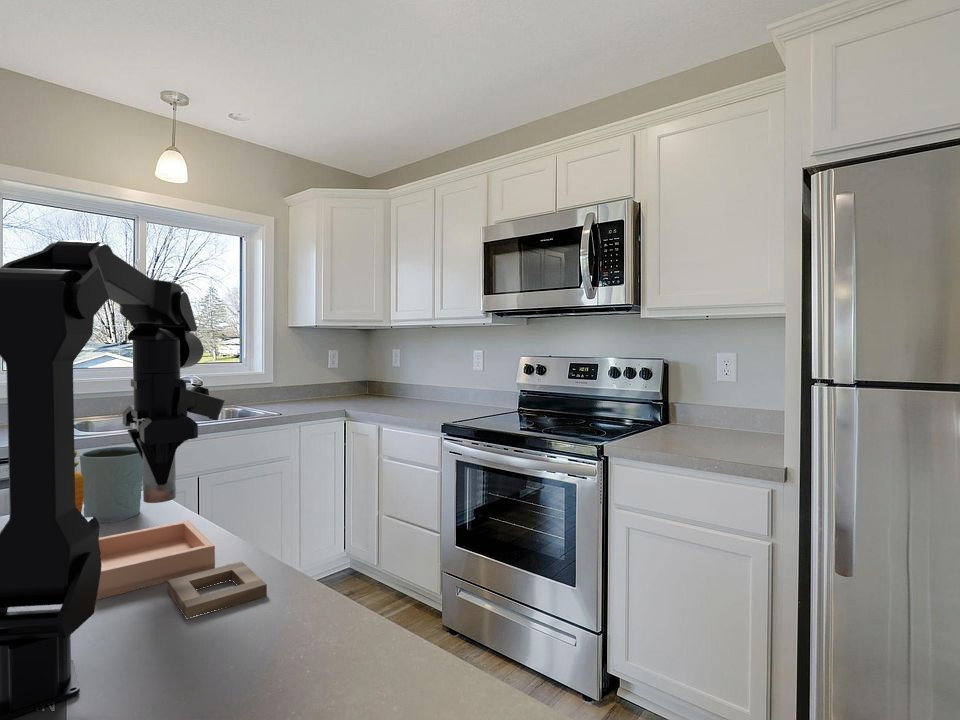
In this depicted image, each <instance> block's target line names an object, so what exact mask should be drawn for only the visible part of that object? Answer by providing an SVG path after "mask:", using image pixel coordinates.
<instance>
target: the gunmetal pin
mask: <svg viewBox="0 0 960 720" xmlns="http://www.w3.org/2000/svg"><path fill="white" fill-rule="evenodd" d="M176 477H177V476H176V454H175V455H174V459H173V462H172V466H171V470H170V473H169V477H168V481H167V483H166V484H165V485H157V483H156V481H155V479H154V476H153V474H152V472H151V470H150V468H149V465H148V463H147V461H146V459H145V456H144V454H143V481H142V490H143V492H142V494H143V495H142V496H143V497H142V499H143V502H144V503H146V504H159V503H160V504H161V503H165V502H169V501H172V500H175V499H176V498H177V491H176V489H177V487H176V485H177V484H176V483H177V481H176Z"/></svg>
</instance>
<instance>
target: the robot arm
mask: <svg viewBox="0 0 960 720" xmlns="http://www.w3.org/2000/svg"><path fill="white" fill-rule="evenodd" d="M113 252H114V251H113V249H112V248H111V247H110V246H109V245H108V244H106V243H104V244H103V243H102V242H100V241H98V240H97V241H96V240H95V241H94V240H91V241H90V240H68V239H67V240H65V239H61V240H58V241H53V242H51V243H50V244H48V245H47V246H46V247H45V248H43V249H42V250H40V251H37V252H35V253H32V254H29V255H25V256H22V257H20V258H18V259H14V260H11V261H9V262H8V261H7V262H6V263H5V264H3V265H2V266H1V267H0V358H1V359H2V360H3V361H4V362H5V368H6V400H7V403H6V405H7V409H6V410H7V441H8V442H7V445H8V447H7V449H8V450H7V451H8V490H9V491H8V492H9V494H8V495H9V499H8V500H9V517H8V521H7V522H6V523H5V524H4V527H3V528H2V529H1V531H0V720H9V719H13V718H15V717H17V716H18V717H19V716H20V715H23V714H27V713H29V712H31V711H34V710H35V711H36V710H38V709H41V708H43V707H47V706H50V705H52V704H56V703H57V702H61V701H64V700H66V699H67V700H68V699H69V698H73V697H75V696H77V695H79V694H80V692H81V691H80V690H81V689H80V687H81V686H80V683H79V679H78V678H79V677H78V675H77V670H76V666H75V662H74V660H73V659H72V641H71V640H72V639H71V635H72V634H74V632H76V631H77V629H79V628H80V627H81V626H82V625H84V623H86V621H88V619H90V618H91V617H92V616H93V615H94V614H95V609H96V604H97V603H96V602H97V593H98V586H99V580H100V574H101V567H102V563H101V557H100V555H101V551H100V548H99V538H100V537H99V535H100V523H98V521H97V519H96V518H95V517H84V514H82V512H81V513H80V511H79V510H78V509H77V508H76V504H75V471H76V467H75V460H76V459H75V458H76V457H75V455H74V450H75V411H74V410H75V408H74V405H75V404H74V403H75V401H74V361H75V360H76V358H77V357H78V356H79V355H80V353H81V352H82V351H83V349H84V347H85V346H86V345H87V343H88V342H89V341H90V339H91V337H92V336H93V334H94V333H93V331H94V330H93V329H94V319H95V315H96V314H97V313H98V312H99V311H100V309H102V307H103V306H104V305H105V303H107V301H108V300H110V301H112V302H113V303H116V304H118V305H119V313H120V314H121V316H123V318H125V319H126V320H128V322H129V324H130V326H132V327H133V329H132V330H130V332H129V333H128V335H127V340H128V341H132V372H133V373H132V375H133V378H131V379H130V387H132V388H133V405H131V404H129V405H128V407H126V408H125V409H124V410H123V411H122V424H123V426H125V427H130V426H131V424H133V426H134V428H129V429H127V433H128V435H129V437H130V438H131V440H132V443H133V444H134V447H136V448H137V450H138V452H139V454H140V456H141V458H142V460H143V454H144V456H145V459H146V461H147V463H148V465H149V468H150V470H151V472H152V474H153V476H154V479H155V481H156V483H157V485H165V484H166V483H167V481H168V477H169V473H170V470H171V466H172V462H173V459H174V455H175V456H176V452H177V449H178V448H179V447H180V446H181V445H182V444H184V442H187V441H189V440H193V439H194V440H195V439H197V438H199V431H198V430H199V426H198V425H199V424H198V423H197V422H196V421H195V420H194V419H192V418H191V417H189V416H188V413H190V414H194V415H200V416H203V417H207V418H208V419H210V420H212V421H219V417H220V416H221V412H222V409H223V407H224V404H225V399H222V398H219V397H216V396H214V395H213V396H212V395H210V392H209V388H208V387H207V388H206V387H203V386H201V385H197V384H196V385H195V386H193V388H191V389H187V383H186V381H185V380H184V379H182V378H181V369H185V368H189V367H192V366H193V367H194V366H195V365H196V364H198V363H199V362H200V361H201V359H202V358H203V356H204V346H203V344H202V341H201V340H200V338H199V336H197V335H196V334H194V333H192V332H198V326H197V323H196V320H195V316H194V312H193V308H192V305H191V302H190V298H189V295H188V294H187V292H185V290H184V288H183V287H182V286H181V285H180V284H179V283H176V282H172V281H170V280H169V281H168V280H160V279H153V278H151V277H149V276H148V275H146V274H144V273H143V272H141V271H140V270H139V269H137V268H136V267H134V266H132V265H131V264H130V263H129V262H126V261H125V260H124V259H122V258H121V257H119V256H118V255H116V254H115V253H113ZM57 605H59V606H60V605H61V608H54V609H36V610H19V611H9V610H8V609H9V608H21V607H39V606H40V607H42V606H57Z"/></svg>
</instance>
